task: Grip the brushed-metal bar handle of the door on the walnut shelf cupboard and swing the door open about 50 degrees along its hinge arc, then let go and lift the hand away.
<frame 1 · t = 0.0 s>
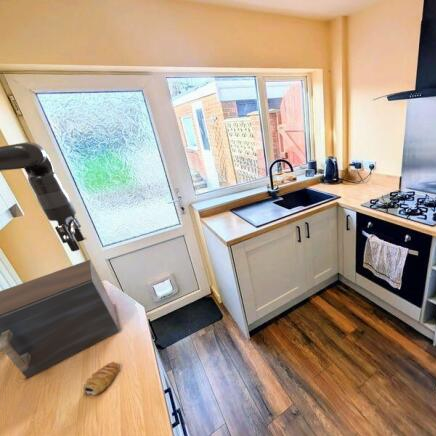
hand: (78, 245, 89), 34 cm above the countertop, tool pointing down, fingers open, 8 cm apart
pastry: (102, 382, 77), on the countertop
cupboard: (77, 335, 95), on the countertop
ceramic cup: (42, 313, 109), on the countertop
door: (60, 332, 81), point 12 cm above the countertop, hinge at 0.0°
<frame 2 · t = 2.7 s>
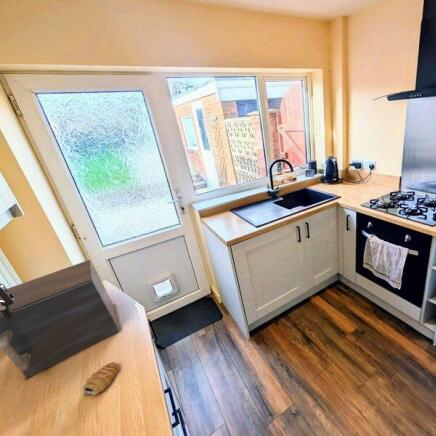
nothing on the countertop moved.
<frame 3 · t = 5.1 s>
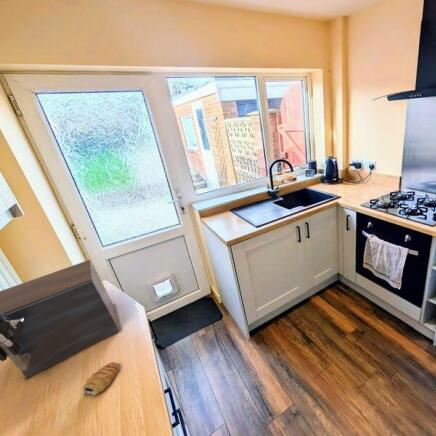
hand: (10, 355, 71), 14 cm above the countertop, tool pointing down, fingers closed on door, 2 cm apart
door: (60, 332, 81), point 12 cm above the countertop, hinge at 0.0°, touching gripper
everything else where it was.
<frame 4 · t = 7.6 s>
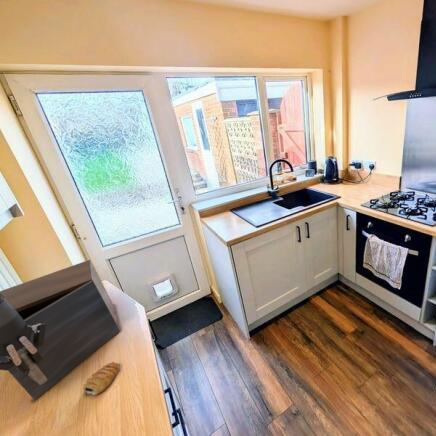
hand: (32, 366, 67), 14 cm above the countertop, tool pointing down, fingers closed on door, 2 cm apart
door: (70, 338, 78), point 12 cm above the countertop, hinge at 26.9°, touching gripper
everything else where it was.
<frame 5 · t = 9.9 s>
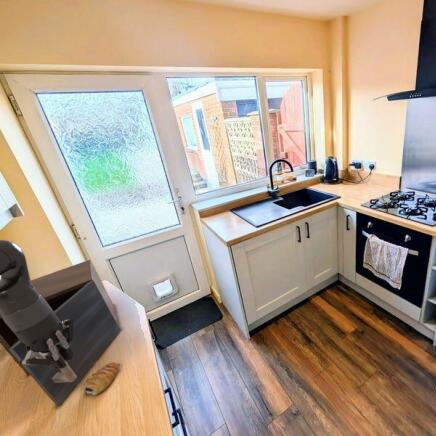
hand: (65, 362, 68), 14 cm above the countertop, tool pointing down, fingers closed on door, 2 cm apart
door: (85, 337, 78), point 12 cm above the countertop, hinge at 48.2°, touching gripper
everything else where it was.
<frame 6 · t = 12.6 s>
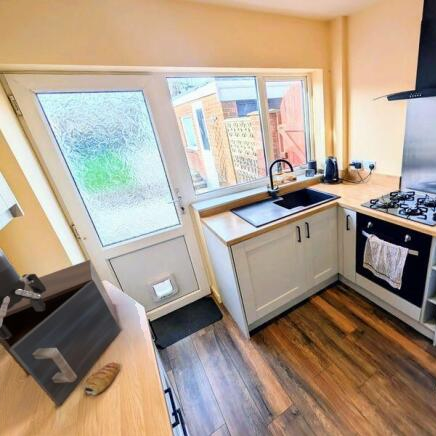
hand: (25, 323, 62), 29 cm above the countertop, tool pointing down, fingers open, 8 cm apart
door: (85, 337, 78), point 12 cm above the countertop, hinge at 48.2°
everything else where it was.
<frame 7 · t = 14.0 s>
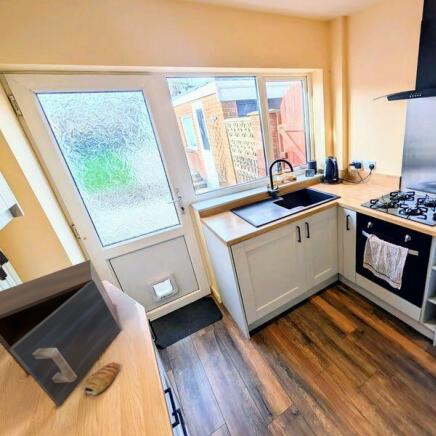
nothing on the countertop moved.
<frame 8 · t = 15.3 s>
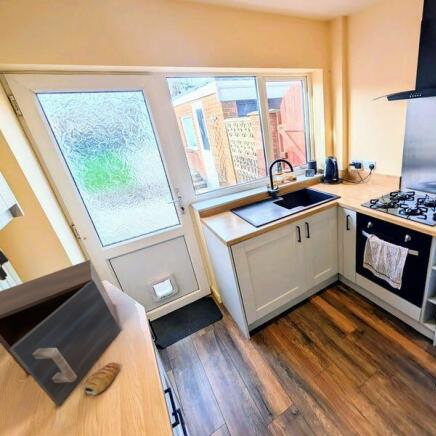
nothing on the countertop moved.
at the end: door at +48° (first picture: +0°); the gripper is holding nothing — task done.
